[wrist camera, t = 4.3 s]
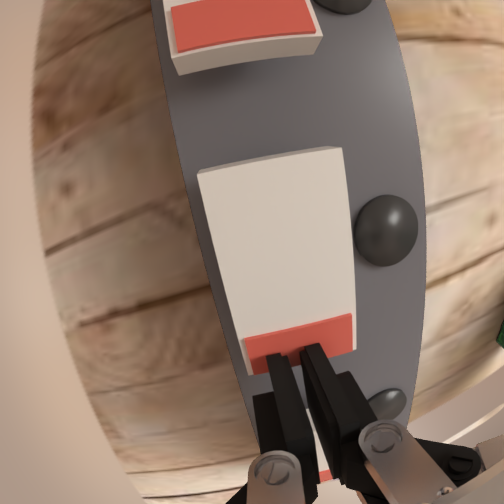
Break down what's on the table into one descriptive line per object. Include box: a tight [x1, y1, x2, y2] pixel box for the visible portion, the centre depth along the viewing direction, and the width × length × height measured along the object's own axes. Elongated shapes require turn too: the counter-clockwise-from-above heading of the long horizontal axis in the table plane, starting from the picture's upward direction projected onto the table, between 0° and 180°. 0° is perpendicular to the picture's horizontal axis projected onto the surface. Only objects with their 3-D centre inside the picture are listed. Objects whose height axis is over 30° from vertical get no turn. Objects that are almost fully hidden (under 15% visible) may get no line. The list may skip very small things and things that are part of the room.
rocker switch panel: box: [150, 0, 426, 447], centre depth 13 cm, size 9×32×4 cm, turn 11°
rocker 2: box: [197, 146, 356, 376], centre depth 10 cm, size 4×7×2 cm, turn 11°
